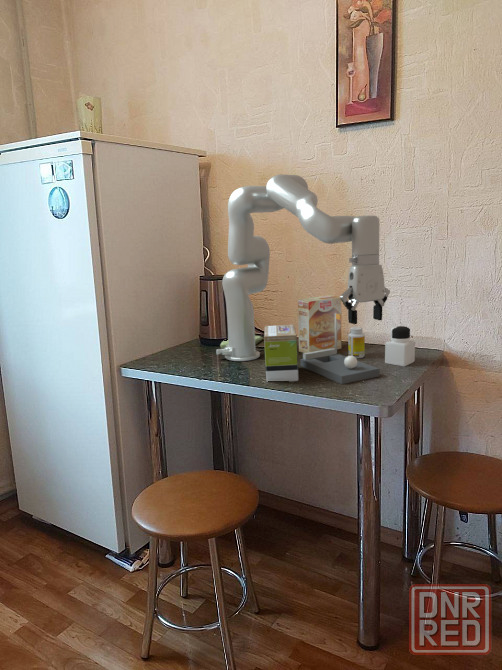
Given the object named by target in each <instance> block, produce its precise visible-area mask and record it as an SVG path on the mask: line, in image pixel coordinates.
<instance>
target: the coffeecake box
mask: <svg viewBox="0 0 502 670" xmlns="http://www.w3.org/2000/svg"><path fill="white" fill-rule="evenodd" d="M297 311H298V313H297V316H298V317H297V319H298V324H297V325H298V329H297V330H298V352H300V353H302V354H303V353H308V352H314V351H320V350H325V349H331V348H334V349H335V313H337V314H341V315H342V301H341V299H340V296H338V295H332V294H328V295H321V296H315V297H305V298H300V299H297ZM341 349H342V319H341V320H338V319H337V350H341Z"/></svg>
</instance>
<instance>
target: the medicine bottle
mask: <svg viewBox="0 0 502 670" xmlns="http://www.w3.org/2000/svg"><path fill="white" fill-rule="evenodd" d="M384 344H385V345H384V363H385V364H387V365H394V366H401V367H406V366H409V365H411V364H414V363H415V358H416V356H415V355H416V341H415V340H411V329H410V328H409V327H408V326H405V325H404V326H403V325H397V326H396V325H395V326H393V327H391V328H390V340H389V341H386V342H384Z"/></svg>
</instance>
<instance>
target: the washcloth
mask: <svg viewBox="0 0 502 670" xmlns="http://www.w3.org/2000/svg"><path fill="white" fill-rule="evenodd" d="M262 340H263V341H264V338H263V337H262V336H260V335H255V346H256V345H257V344H259V343H260V342H261V341H262ZM226 345H229V342H228V340H227V341H224V340H223V341H221V343H220V344H219V346H220V349H224V348H225V347H226Z"/></svg>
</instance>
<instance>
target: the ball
mask: <svg viewBox="0 0 502 670" xmlns="http://www.w3.org/2000/svg"><path fill="white" fill-rule="evenodd" d="M357 361H358V358H355V357H354V356H349V355H348V356H346V358H345V360H344V364H345V366H346V367H347V368H349V369H353V368H355V367H356V366H357Z"/></svg>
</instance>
